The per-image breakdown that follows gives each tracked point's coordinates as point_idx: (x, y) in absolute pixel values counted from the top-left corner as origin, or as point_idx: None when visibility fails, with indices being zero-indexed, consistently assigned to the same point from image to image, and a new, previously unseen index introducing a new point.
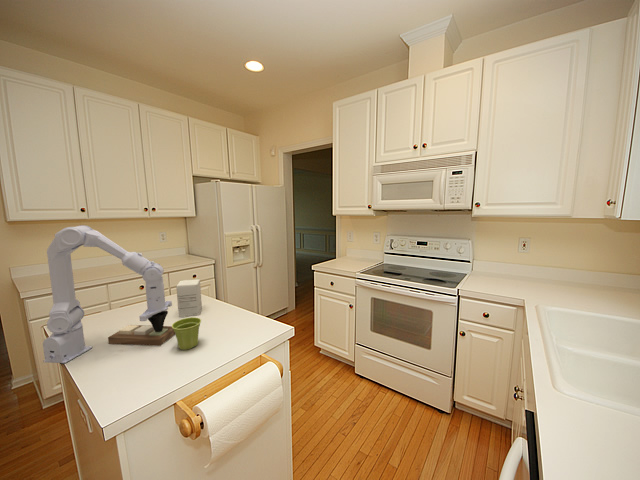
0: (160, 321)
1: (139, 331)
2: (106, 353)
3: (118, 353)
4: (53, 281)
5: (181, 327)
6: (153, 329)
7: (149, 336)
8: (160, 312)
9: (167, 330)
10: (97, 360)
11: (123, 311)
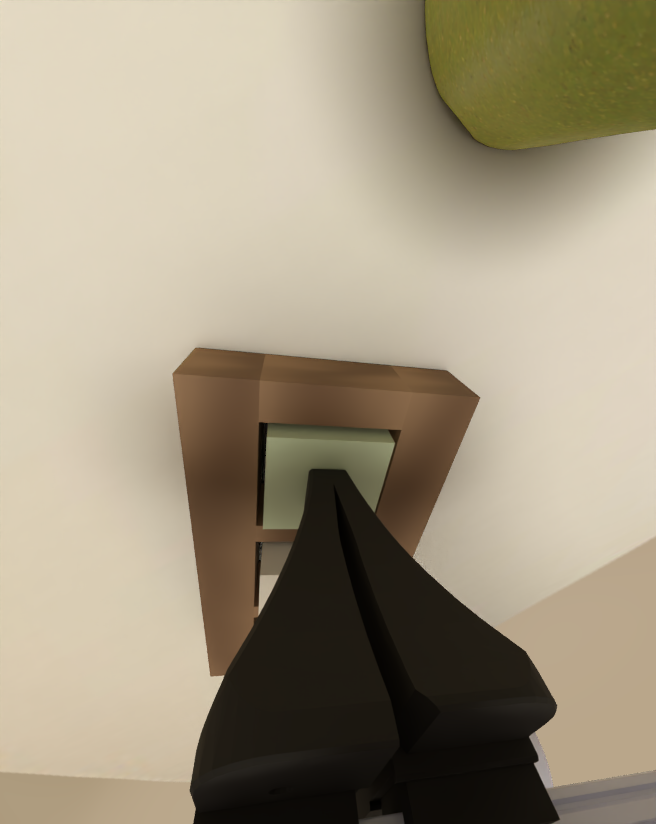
0: (404, 572)
1: None
2: (453, 580)
3: (471, 541)
4: None
5: (637, 25)
6: (265, 544)
7: (396, 505)
8: (340, 800)
9: (280, 429)
10: (508, 573)
11: (17, 752)
